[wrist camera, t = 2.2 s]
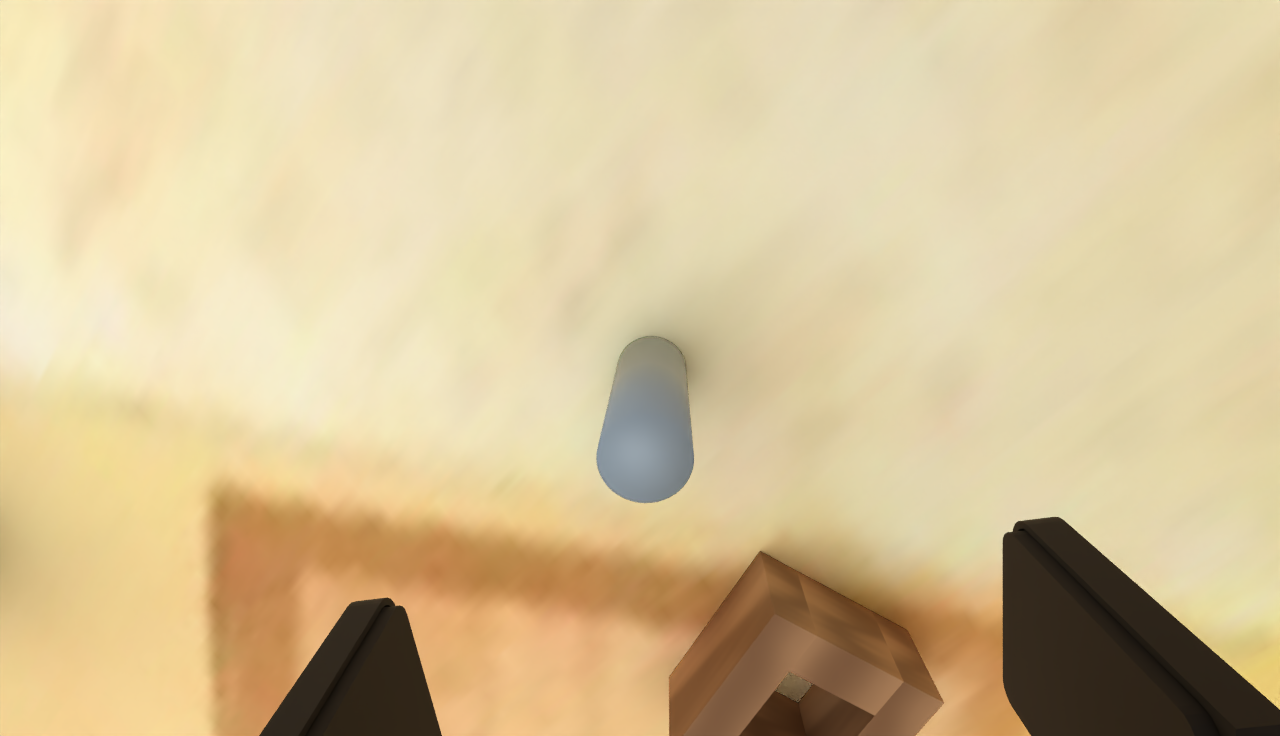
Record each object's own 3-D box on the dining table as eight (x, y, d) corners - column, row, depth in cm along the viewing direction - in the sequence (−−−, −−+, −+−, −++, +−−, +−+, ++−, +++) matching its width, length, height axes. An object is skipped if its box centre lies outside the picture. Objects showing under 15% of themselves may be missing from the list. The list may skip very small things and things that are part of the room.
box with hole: (907, 630, 36) (944, 702, 31) (809, 747, 38) (829, 831, 34) (760, 551, 35) (774, 613, 30) (669, 677, 37) (669, 753, 32)
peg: (698, 357, 32) (712, 443, 22) (663, 413, 33) (662, 518, 23) (638, 324, 32) (626, 395, 22) (605, 381, 33) (579, 474, 23)
